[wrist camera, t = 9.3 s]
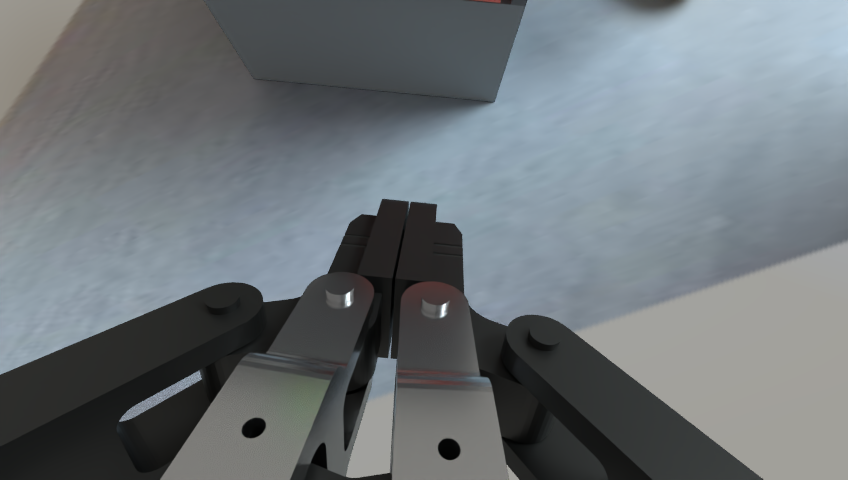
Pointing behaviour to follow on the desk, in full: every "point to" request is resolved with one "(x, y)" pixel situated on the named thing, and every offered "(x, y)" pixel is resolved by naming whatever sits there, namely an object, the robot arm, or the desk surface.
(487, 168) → the desk surface
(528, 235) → the desk surface
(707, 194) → the desk surface
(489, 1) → the red button
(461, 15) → the grey drawer cabinet
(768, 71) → the desk surface
